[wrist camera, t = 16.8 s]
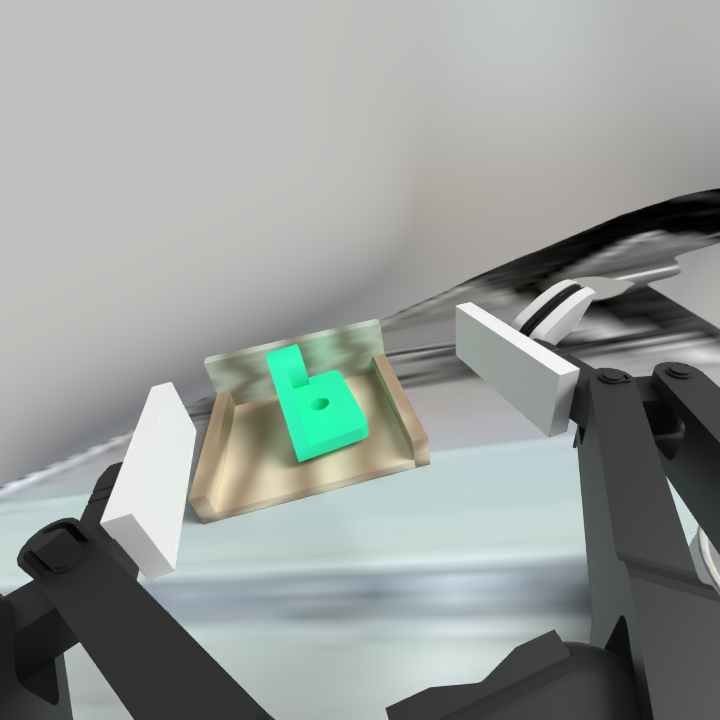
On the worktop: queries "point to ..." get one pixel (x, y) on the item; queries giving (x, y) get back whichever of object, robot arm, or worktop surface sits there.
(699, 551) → the teacup
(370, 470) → the dock
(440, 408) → the worktop surface
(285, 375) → the camera mount
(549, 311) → the grey rounded piece
